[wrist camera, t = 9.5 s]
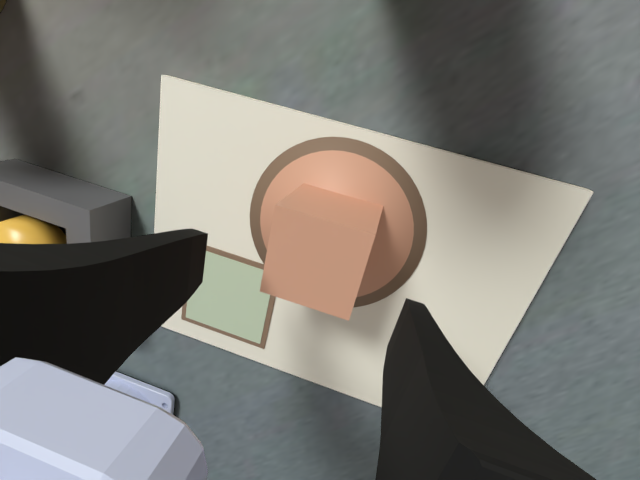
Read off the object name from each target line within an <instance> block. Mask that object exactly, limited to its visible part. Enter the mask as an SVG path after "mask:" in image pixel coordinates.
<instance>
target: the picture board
mask: <svg viewBox="0 0 640 480" xmlns="http://www.w3.org/2000/svg"><path fill="white" fill-rule="evenodd" d="M303 183H304V184H308V185H311V186H315V187H318V188H322V189H325V190H329V191H333V192H336V193H340V194H343V195H347V196H350V197H354V198H357V199H361V200H364V201H368V202H371V203H375V204H378V205H382V206H383V209H382V213H381V216H380V220H379V224H378V228H377V232H376V235H375V239H374V242H373V245H372V248H371V252H370V255H369V258H368V261H367V264H366V268H365V271H364V274H363V277H362V280H361V284H360V287H359V290H358V293H357V297H356V300H355V303H354V306H353V309H352V313H351V316H350V319H349V321H348V320H345V319H342V318H339V317H336V316H333V315H330V314H327V313H324V312H321V311H318V310H315V309H312V308H309V307H306V306H303V305H300V304H297V303H294V302H290V301H287V300H284V299H281V298H278V297H275V296H272V295H269V294H266V293H263V292H260V287H261V281H262V276H263V270H264V264H265V259H266V253H267V248H268V242H269V236H270V231H271V225H272V220H273V214H274V208H275V205H276V204H277V203H278V202H279V201H281V200H282V199H283V198H285V197H286V196H287V195H289V194H290V193H291V192H292V191H294V190H295V189H296V188H298V187H299V186H300V185H302V184H303ZM592 194H593V191H591V190H589V189H587V188H583V187H579V186H576V185H572V184H568V183H564V182H561V181H557V180H553V179H550V178H546V177H542V176H539V175H535V174H531V173H528V172H524V171H520V170H516V169H513V168H509V167H505V166H502V165H498V164H494V163H491V162H487V161H483V160H479V159H476V158H472V157H468V156H465V155H461V154H457V153H454V152H450V151H446V150H442V149H439V148H435V147H431V146H428V145H424V144H420V143H417V142H413V141H409V140H405V139H402V138H398V137H394V136H391V135H387V134H383V133H380V132H376V131H372V130H369V129H365V128H361V127H357V126H354V125H350V124H346V123H343V122H339V121H335V120H332V119H328V118H324V117H320V116H317V115H313V114H309V113H306V112H302V111H298V110H295V109H291V108H287V107H283V106H280V105H276V104H272V103H269V102H265V101H261V100H258V99H254V98H250V97H246V96H243V95H239V94H235V93H232V92H228V91H224V90H221V89H217V88H213V87H209V86H206V85H202V84H198V83H195V82H191V81H187V80H184V79H180V78H176V77H173V76H168V75H161V95H160V117H159V139H158V161H157V183H156V205H155V227H154V234H155V233H161V232H167V231H173V230H180V229H195V230H199V231H202V232H205V233H208V238H207V247H206V256H205V265H204V273H203V282H202V284H201V285H200V286H199V287H198V289H197V290H196V291H195V293H194V294H193V295H192V296H191V297H190V299H189V300H188V301H187V302H186V303H185V304H184V305H183V306H182V307H181V308H180V309H179V310H178V311H177V312H176V313H175V314H173V315H172V316H171V317H170V318H169V319H168V320H167V321H166V322H165V323H164V324H163V325H161V326H162V327H165V328H167V329H170V330H173V331H175V332H178V333H181V334H184V335H186V336H189V337H192V338H194V339H197V340H200V341H203V342H205V343H208V344H211V345H213V346H216V347H219V348H222V349H224V350H227V351H230V352H232V353H235V354H238V355H241V356H243V357H246V358H249V359H252V360H254V361H257V362H260V363H262V364H265V365H268V366H271V367H273V368H276V369H279V370H281V371H284V372H287V373H290V374H292V375H295V376H298V377H300V378H303V379H306V380H309V381H311V382H314V383H317V384H319V385H322V386H325V387H328V388H330V389H333V390H336V391H338V392H341V393H344V394H347V395H349V396H352V397H355V398H358V399H360V400H363V401H366V402H368V403H371V404H374V405H377V406H379V407H382V383H383V368H384V362H385V356H386V350H387V345H388V343H389V340H390V338H391V335H392V333H393V330H394V328H395V325H396V323H397V320H398V318H399V315H400V312H401V310H402V307H403V305H404V302H405V300H406V298H407V299H411V300H414V301H417V302H420V303H423V304H425V306H426V307H427V309H428V310H429V312H430V313H431V315H432V317H433V318H434V320H435V322H436V323H437V325H438V326H439V328H440V329H441V331H442V333H443V334H444V336H445V337H446V339H447V340H448V342H449V343H450V344H451V346H452V347H453V349H454V350H455V352H456V353H457V354H458V355H459V357H460V358H461V359H462V361H463V362H464V363H465V365H466V366H467V367H468V368H469V370H470V371H471V372H472V373H473V374H474V375H475V377H476V378H477V379H478V380H479V381H480V382H481V383H482V384H483V385H484V384H485V382H486V380H487V379H488V377H489V375H490V373H491V372H492V370H493V368H494V366H495V365H496V363H497V361H498V359H499V357H500V356H501V354H502V352H503V350H504V349H505V347H506V345H507V343H508V342H509V340H510V338H511V336H512V335H513V333H514V331H515V329H516V328H517V326H518V324H519V322H520V321H521V319H522V317H523V315H524V314H525V312H526V310H527V308H528V307H529V305H530V303H531V301H532V300H533V298H534V296H535V294H536V292H537V291H538V289H539V287H540V285H541V284H542V282H543V280H544V278H545V277H546V275H547V273H548V271H549V270H550V268H551V266H552V264H553V263H554V261H555V259H556V257H557V256H558V254H559V252H560V250H561V249H562V247H563V245H564V243H565V242H566V240H567V238H568V236H569V235H570V233H571V231H572V229H573V228H574V226H575V224H576V222H577V220H578V219H579V217H580V215H581V213H582V212H583V210H584V208H585V206H586V205H587V203H588V201H589V199H590V198H591V196H592Z"/></svg>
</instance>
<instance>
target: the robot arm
mask: <svg viewBox="0 0 640 480" xmlns="http://www.w3.org/2000/svg"><path fill="white" fill-rule="evenodd" d="M207 238H208V233H205V232H202V231H199V230H195V229H180V230H173V231H167V232H161V233H155V234H149V235H143V236H137V237H130V238H122V239H115V240H108V241H99V242H87V243H71V244H14V243H0V480H207V474H208V469H207V464H206V458H205V453H204V448H203V446H202V443H201V442H200V441H199V439H198V438H197V437H196V435H195V434H194V433H193V432H192V430H191V429H190V428H189V427H188V425H187V424H186V423H185V422H184V421H182V420H180V419H179V418H177V417H176V416H174V415H173V412H174V401H175V399H174V396H173V395H172V394H171V393H170V392H167V391H165V390H162V389H160V388H157V387H154V386H152V385H149V384H147V383H144V382H142V381H139V380H137V379H134V378H131V377H129V376H126V375H124V374H121V373H119V372H116V370H117V369H118V368H119V367H120V366H121V365H122V364H123V363H124V361H125V360H126V359H127V358H128V357H129V356H130V355H131V354H132V353H133V352H134V351H135V350H136V349H137V348H138V347H139V346H140V345H141V344H142V343H143V342H144V341H145V340H146V339H147V338H148V337H149V336H150V335H152V334H153V333H154V332H155V331H156V330H157V329H158V328H159V327H160V326H161V325H163V324H164V323H165V322H166V321H167V320H168V319H169V318H170V317H171V316H172V315H173V314H175V313H176V312H177V311H178V310H179V309H180V308H181V307H182V306H183V305H184V304H185V303H186V302H187V301H188V300H189V299H190V297H191V296H192V295H193V294H194V293H195V291H196V290H197V289H198V287H199V286H200V285H201V284H202V282H203V273H204V265H205V256H206V247H207ZM376 480H596V479H595V478H593V477H592V476H591V475H589V474H588V473H586V472H585V471H584V470H582V469H581V468H579V467H578V466H577V465H575V464H574V463H573V462H571V461H570V460H568V459H567V458H566V457H564V456H563V455H561V454H560V453H559V452H557V451H556V450H555V449H553V448H552V447H551V446H550V445H548V444H547V443H546V442H545V441H543V440H542V439H541V438H540V437H538V436H537V435H536V434H535V433H534V432H532V431H531V430H530V429H529V428H528V427H526V426H525V425H524V424H523V423H522V422H521V421H519V420H518V419H517V418H516V417H515V416H514V415H513V414H512V413H511V412H510V411H509V410H508V409H506V408H505V407H504V406H503V405H502V404H501V403H500V402H499V401H498V400H497V399H496V398H495V397H494V396H493V395H492V394H491V393H490V392H489V391H488V390H487V389H486V388H485V387H484V385H483V384H482V383H481V382H480V381H479V380H478V379H477V378H476V377H475V375H474V374H473V373H472V372H471V371H470V370H469V368H468V367H467V366H466V365H465V363H464V362H463V361H462V359H461V358H460V357H459V355H458V354H457V353H456V352H455V350H454V349H453V347H452V346H451V344H450V343H449V342H448V340H447V339H446V337H445V336H444V334H443V333H442V331H441V329H440V328H439V326H438V325H437V323H436V322H435V320H434V318H433V317H432V315H431V313H430V312H429V310H428V309H427V307H426V306H425V304H423V303H420V302H417V301H414V300H411V299H407V298H406V300H405V302H404V305H403V307H402V310H401V312H400V315H399V318H398V320H397V323H396V325H395V328H394V330H393V333H392V335H391V338H390V340H389V343H388V345H387V350H386V356H385V362H384V368H383V383H382V416H381V440H380V451H379V459H378V466H377V473H376Z"/></svg>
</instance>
